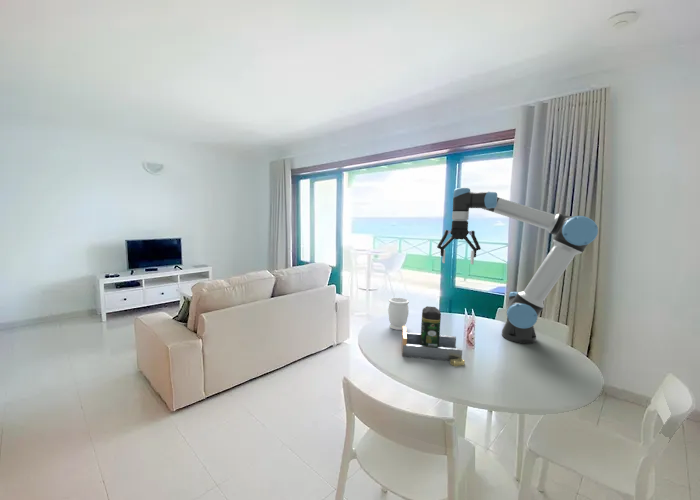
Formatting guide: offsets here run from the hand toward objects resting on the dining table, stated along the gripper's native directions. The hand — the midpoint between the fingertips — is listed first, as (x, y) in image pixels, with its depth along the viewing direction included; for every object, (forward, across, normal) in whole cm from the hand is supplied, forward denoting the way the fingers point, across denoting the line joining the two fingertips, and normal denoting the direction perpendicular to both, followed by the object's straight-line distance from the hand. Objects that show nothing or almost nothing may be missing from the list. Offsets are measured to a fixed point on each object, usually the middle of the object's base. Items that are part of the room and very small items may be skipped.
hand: (457, 263), depth 152 cm
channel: (+36, +14, +23) cm, 46 cm away
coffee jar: (+36, +15, +23) cm, 45 cm away
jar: (+36, +28, -4) cm, 46 cm away
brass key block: (+37, +5, +33) cm, 50 cm away
